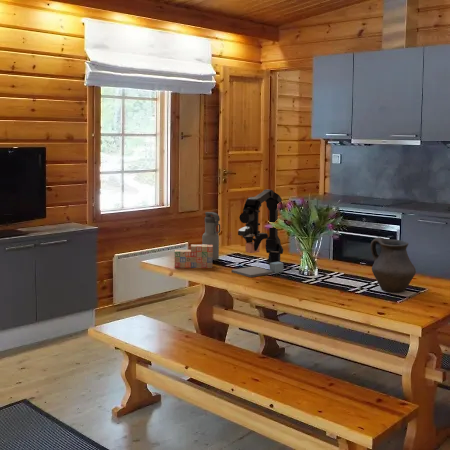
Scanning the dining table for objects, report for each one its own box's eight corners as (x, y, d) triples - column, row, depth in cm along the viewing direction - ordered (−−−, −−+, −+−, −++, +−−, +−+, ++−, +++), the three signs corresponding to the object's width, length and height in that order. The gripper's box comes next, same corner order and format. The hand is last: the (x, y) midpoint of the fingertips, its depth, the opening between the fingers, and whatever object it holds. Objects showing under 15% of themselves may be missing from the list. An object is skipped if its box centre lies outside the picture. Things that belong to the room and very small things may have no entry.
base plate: (254, 268, 356) (254, 266, 356) (273, 273, 343) (273, 271, 343) (231, 272, 346) (231, 269, 346) (250, 277, 334) (250, 275, 333)
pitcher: (407, 297, 294) (409, 244, 291) (361, 291, 306) (363, 239, 302) (419, 288, 311) (422, 238, 308) (376, 282, 323) (378, 234, 319)
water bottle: (222, 258, 382) (222, 212, 378) (213, 261, 374) (213, 214, 370) (208, 257, 388) (208, 211, 384) (199, 259, 379) (199, 212, 375)
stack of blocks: (174, 267, 357) (174, 246, 355) (175, 265, 363) (174, 244, 361) (212, 268, 357) (212, 246, 355) (212, 265, 363) (212, 244, 361)
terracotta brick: (254, 250, 347) (254, 241, 346) (259, 252, 343) (259, 242, 343) (245, 252, 343) (245, 242, 343) (250, 253, 340) (251, 243, 339)
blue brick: (277, 270, 351) (277, 261, 350) (283, 272, 347) (283, 263, 347) (269, 272, 347) (269, 263, 347) (275, 273, 344) (275, 264, 343)
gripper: (230, 220, 344) (230, 249, 346) (252, 224, 329) (252, 254, 331) (246, 219, 350) (245, 247, 352) (269, 222, 336) (268, 252, 338)
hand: (252, 250), depth 343 cm, fingers closed on terracotta brick, 4 cm apart
